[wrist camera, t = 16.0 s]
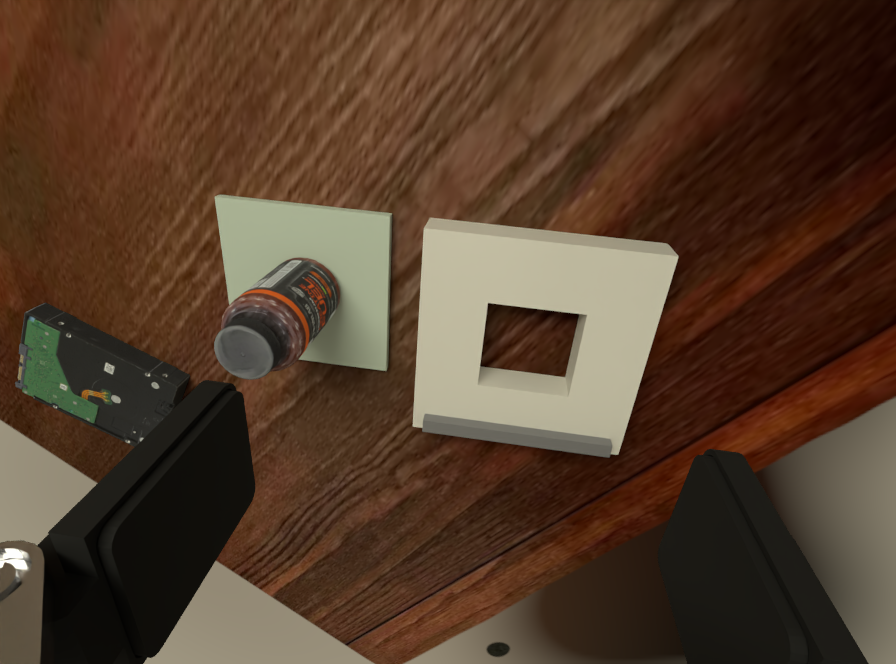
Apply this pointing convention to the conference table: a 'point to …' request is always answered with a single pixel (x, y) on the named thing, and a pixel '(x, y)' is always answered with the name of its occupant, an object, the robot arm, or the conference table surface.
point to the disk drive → (95, 375)
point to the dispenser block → (548, 288)
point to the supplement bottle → (276, 318)
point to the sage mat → (328, 242)
